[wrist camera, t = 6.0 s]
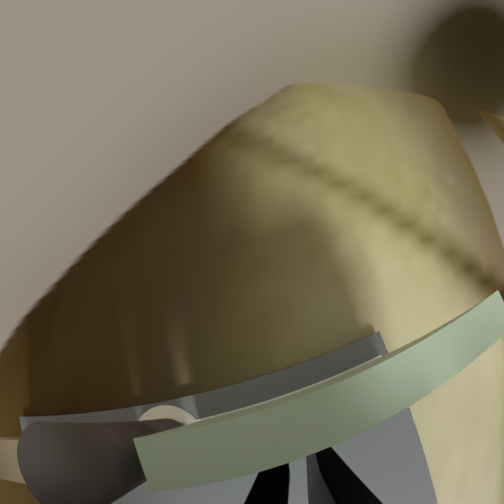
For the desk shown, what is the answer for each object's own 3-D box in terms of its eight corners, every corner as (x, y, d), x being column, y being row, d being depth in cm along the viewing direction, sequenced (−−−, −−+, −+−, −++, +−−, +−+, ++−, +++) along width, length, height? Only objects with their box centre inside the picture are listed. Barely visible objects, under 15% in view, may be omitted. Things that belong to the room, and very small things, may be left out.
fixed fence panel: (36, 463, 10) (-94, 460, 1) (27, 430, 11) (-104, 405, 2) (196, 454, 12) (117, 521, 3) (183, 414, 13) (83, 418, 4)
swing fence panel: (205, 443, 12) (151, 491, 4) (198, 421, 12) (133, 438, 4) (389, 375, 13) (513, 324, 6) (381, 356, 14) (498, 290, 6)
